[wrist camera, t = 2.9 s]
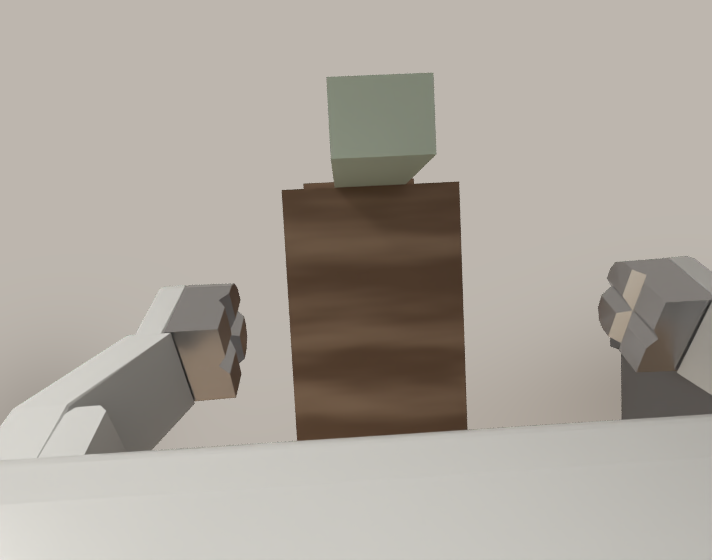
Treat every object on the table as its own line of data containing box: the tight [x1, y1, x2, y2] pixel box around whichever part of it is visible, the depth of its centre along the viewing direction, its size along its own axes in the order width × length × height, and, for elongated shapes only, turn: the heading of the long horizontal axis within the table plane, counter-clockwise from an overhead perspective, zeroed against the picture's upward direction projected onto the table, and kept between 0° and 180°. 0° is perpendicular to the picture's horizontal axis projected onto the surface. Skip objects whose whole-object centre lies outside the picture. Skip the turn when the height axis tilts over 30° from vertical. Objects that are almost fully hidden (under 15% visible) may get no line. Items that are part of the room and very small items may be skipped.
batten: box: [327, 73, 436, 188], centre depth 27 cm, size 20×4×3 cm, turn 2°
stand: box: [282, 179, 467, 441], centre depth 36 cm, size 19×14×30 cm
